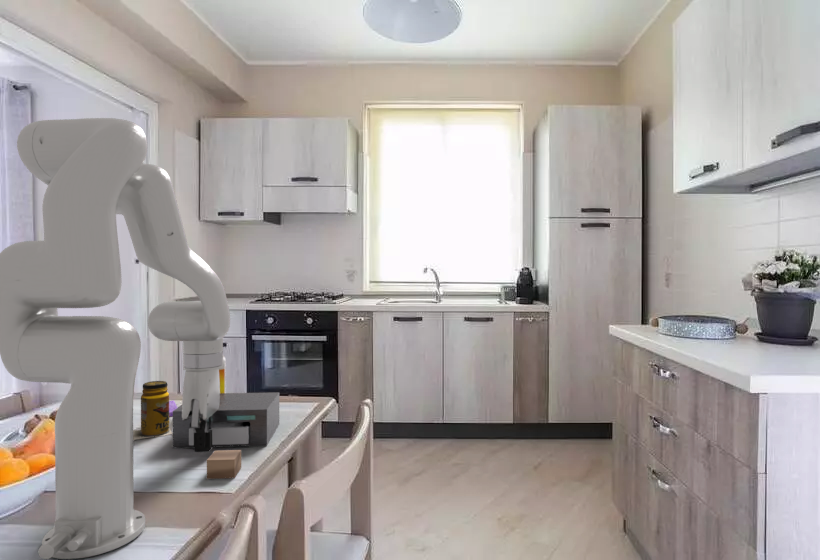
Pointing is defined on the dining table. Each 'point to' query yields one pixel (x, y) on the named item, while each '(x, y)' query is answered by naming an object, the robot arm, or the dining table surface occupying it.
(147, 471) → the dining table surface
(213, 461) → the walnut block
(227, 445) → the player
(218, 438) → the tray
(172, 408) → the sponges
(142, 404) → the condiment
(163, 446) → the dining table surface
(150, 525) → the dining table surface
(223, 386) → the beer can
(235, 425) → the disc
